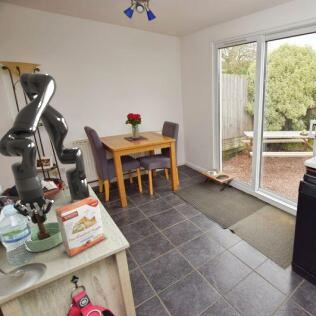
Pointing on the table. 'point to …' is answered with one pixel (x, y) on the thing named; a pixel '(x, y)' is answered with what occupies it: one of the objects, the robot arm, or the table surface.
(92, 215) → the cracker box
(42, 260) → the table surface
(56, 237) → the bowl
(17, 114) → the robot arm
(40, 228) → the pestle
